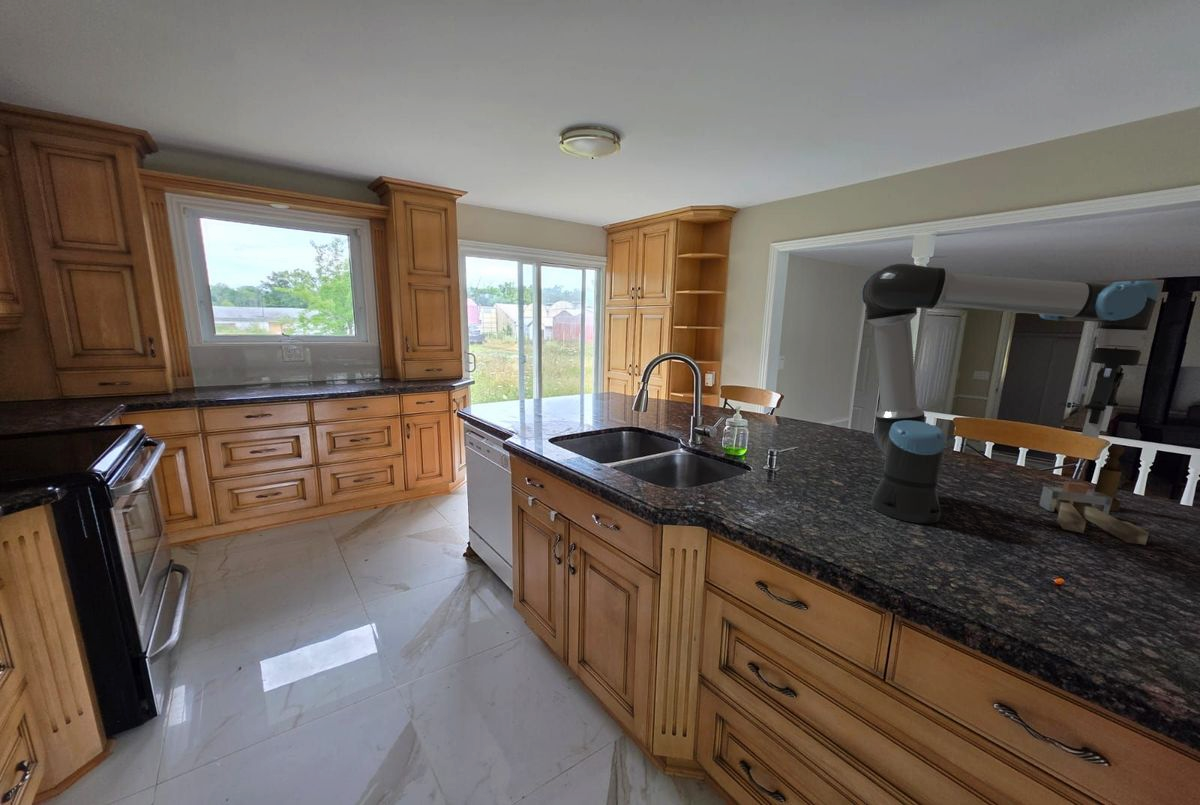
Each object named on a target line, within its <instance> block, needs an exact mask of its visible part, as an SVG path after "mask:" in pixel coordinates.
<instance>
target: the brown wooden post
mask: <svg viewBox="0 0 1200 805" xmlns="http://www.w3.org/2000/svg"><path fill="white" fill-rule="evenodd" d="M1107 452H1108V454H1109V456H1110V457H1109V458H1108V459H1106V463H1107V466H1100V468H1099V469H1100V470H1099V473H1098V477H1097V480H1096V484H1095V485H1096V486H1095V487H1094V491H1093V492H1101V493H1103V494H1105V495H1108V496H1110V497H1112V498H1113V499H1112V502H1111V506H1110V510H1109V512H1111V511H1112V512H1119V510H1120V506H1121V501H1119V500H1118V499H1117V498H1116V494H1117V491H1118V487H1119V485H1120V484H1119V483H1120V480H1121V476H1122V473H1123V470H1121V469H1118V468H1117V467H1118V466H1119V464H1120V461H1119V459H1118V458H1120V457H1121V456H1122V455H1123V454H1124V453H1125V448H1124V447H1123V445H1120V444H1111V445H1108V447H1107ZM1087 504H1089V505H1091V506H1092V504H1091V503H1087Z"/></svg>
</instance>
